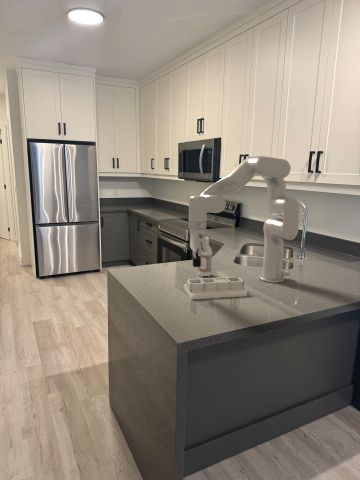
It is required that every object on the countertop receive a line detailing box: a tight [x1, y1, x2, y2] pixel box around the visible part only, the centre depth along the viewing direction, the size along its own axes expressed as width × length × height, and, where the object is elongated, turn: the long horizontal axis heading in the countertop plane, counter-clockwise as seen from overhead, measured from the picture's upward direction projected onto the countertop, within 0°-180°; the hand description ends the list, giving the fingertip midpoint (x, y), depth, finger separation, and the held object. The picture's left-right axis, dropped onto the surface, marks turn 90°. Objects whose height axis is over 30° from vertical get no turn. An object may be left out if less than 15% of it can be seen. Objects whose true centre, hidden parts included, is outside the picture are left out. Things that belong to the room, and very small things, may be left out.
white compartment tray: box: [183, 276, 248, 300], centre depth 147 cm, size 25×14×6 cm, turn 102°
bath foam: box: [197, 236, 213, 277], centre depth 170 cm, size 7×7×20 cm
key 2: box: [215, 279, 227, 282], centre depth 147 cm, size 4×4×2 cm
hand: (196, 266), depth 143 cm, fingers closed
